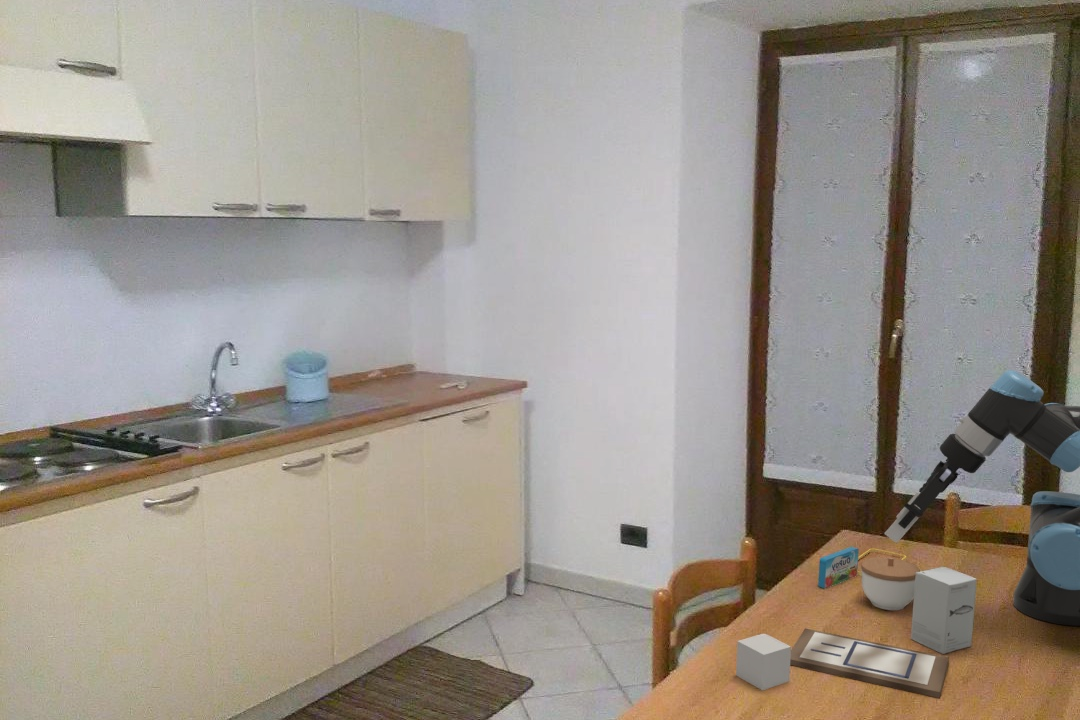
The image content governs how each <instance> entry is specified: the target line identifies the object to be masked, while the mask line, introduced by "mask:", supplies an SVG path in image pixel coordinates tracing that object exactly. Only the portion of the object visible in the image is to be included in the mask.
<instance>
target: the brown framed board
mask: <svg viewBox="0 0 1080 720" xmlns="http://www.w3.org/2000/svg"><path fill="white" fill-rule="evenodd" d="M949 661H950V657H947V656H944V655H938V654H933V653H929V652H923V651H919V650H915V649H914V650H913V649H908V648H904V647H900V646H899V647H898V646H895V645H888V644H884V643H878V642H874V641H868V640H864V639H859V638H854V637H849V636H845V635H840V634H837V633H831V632H830V633H829V632H824V631H821V630H815V629H811V628H807V627H805V628H804V629H803V631H802V632H801V634H800V636H799V637H798V639H797V640H796V642H795V643H794V645H793V647H791V658H790V666H793V667H798V668H801V669H802V668H803V669H807V670H811V671H816V672H821V673H825V674H829V675H834V676H839V677H842V678H848V679H852V680H855V681H860V682H865V683H869V684H874V685H879V686H884V687H888V688H893V689H897V690H902V691H904V692H905V691H906V692H910V693H914V694H919V695H923V696H928V697H932V698H937V699H940V697H941V693H942V690H943V686H944V682H945V678H946V675H947V671H948V666H949Z"/></svg>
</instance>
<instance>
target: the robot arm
mask: <svg viewBox="0 0 1080 720" xmlns="http://www.w3.org/2000/svg"><path fill="white" fill-rule="evenodd" d="M1043 396H1044V390H1043V389H1042V388H1041V387H1040V386H1039V385H1037V384H1036V383H1035V382H1033V381H1032V380H1031V379H1030V378H1028V377H1027V376H1025V375H1023V374H1022V373H1020V372H1018V371H1016V370H1014V369H1013V370H1012V369H1009V370H1006V371H1004V372H1003V373H1002V374H1001V376H999V377H998V378H997V380H996V381H995V382H993V383H992V384H991V385H990V387H989V388H988V389H987V391H986V392H985V393H984V394H983V395H982V396H981V398H980V399H979V400H978V401H977V402H976V403H975V405H974V406H973V407H972V408H971V410H970V411H969V412H968V414H967V415H966V416H965V417H963V416H961V417H959V418H958V422H960V423H958V425H957V426H956V427H955V429H954V433H950V434H949V435H948V436H947V437H946V438H945V439H944V441H943V442H942V444H940V446H939V450H940V452H941V454H943V455H942V456H943V457H945V458H946V460H944V461H942V460H940V461H939V462H938V463H937V464H936V466H935V468H934V469H933V471H932V472H931V473H930V476H929V477H928V478H927V479H926V482H925V483H923V484H922V486H921V487H920V488H919V491H917V492H916V493H915V494H914V495H913V496H912V497H911V498H910V500H909V501H908V502H906V503H905V504H904V505H903V508H902V509H901V510H900V512H898V514H897V515H896V516H895V518H896V519H895V521H893V523H891V525H890V526H889V527H888V529H887V530H886V531H885V532H884V535H885V536H887V538H888V539H890V540H891V541H892V542H894V543H896V544H897V543H899V541H900V540H901V539H902V538H903V537H904V535H905V534H906V533H908V531H909V530H910V528H911V527H912V526H913V525H915V523H916V522H917V521H918V520H919V518H921V517H922V516H923V515H924V513H925V512H926V510H927V509H928V508H929V507H930V505H931V504H932V503H933V502H934V501H935V500H936V499H937V497H938V496H939V495H940V494H941V493H943V492H945V491H946V490H947V488H948V487H949V486H950V485H952V484H953V483H954V482H955V481H956V480H957V479H958V477H959V475H960V474H959V472H957V471H958V470H959V469H961V470H963V471H964V472H966V473H969V474H975V473H976V472H977V471H978V470H979V469H980V468H981V466H983V464H984V463H985V462H986V461H987V459H986V457H991V456H992V454H994V452H995V451H996V450H997V449H998V448H999V447H1000V446H1001V444H1003V442H1004V441H1005V439H1006V438H1007V437H1008V436H1009V435H1012V436H1014V438H1016V439H1018V440H1019V441H1021V442H1023V444H1025V445H1026V446H1028V447H1030V448H1031V449H1032V450H1033V451H1035V452H1036V453H1037V454H1039V455H1040V456H1041V457H1043V458H1044V459H1045V460H1047V461H1048V462H1049V463H1050V464H1051V465H1053V466H1056V467H1057V468H1058V469H1061V470H1062V471H1064V472H1065V473H1072V472H1074V471H1076V470H1078V469H1079V468H1080V405H1077V406H1076V405H1064V404H1061V403H1058V402H1050V403H1045V404H1044V403H1043V402H1042V401H1041V400H1042V398H1043ZM1027 542H1028V543H1027V554H1026V564H1025V568H1024V570H1023V572H1022V574H1021V577H1020V579H1019V581H1018V583H1017V585H1016V587H1015V588H1014V592H1013V600H1012V604H1013V606H1014V607H1015V609H1017V610H1018V611H1019V612H1021V613H1023V614H1024V615H1026V616H1029V617H1030V618H1034V619H1037V620H1040V621H1043V622H1048V623H1050V624H1051V623H1052V624H1056V625H1063V626H1064V625H1065V626H1073V627H1076V626H1077V627H1080V494H1078V493H1071V492H1063V491H1061V492H1060V491H1048V490H1047V491H1046V490H1045V491H1037V492H1035V493H1034V494H1033V495H1032V498H1031V503H1030V520H1029V530H1028V541H1027Z"/></svg>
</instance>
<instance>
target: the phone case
mask: <svg viewBox="0 0 1080 720" xmlns="http://www.w3.org/2000/svg"><path fill="white" fill-rule="evenodd" d="M869 552H870V553H875V552H877V553H878V552H880V553H884V555H885V556H887V554H889V555H892V557H894V555H895V556H898V557H899V556H900V557H901V559H900V560H904V561H907V555H905V554H901V553H897V552H894V551H893V552H892V551H888V550H883V549H879V548H878V549H877V548H869V549H868V550H867V549H866V551H864V552H863V553H862V554H860V555H858V560H859V559H860V558H862V557H863V556H864V557H866V556H867V555H869V554H870V553H869ZM868 553H869V554H868ZM866 554H867V555H866ZM865 555H866V556H865ZM864 557H863V558H864ZM863 558H862V559H863ZM860 560H861V559H860ZM860 560H859V561H860ZM861 572H862V570H861V571H859V570H857V576H859V575H860V577H861Z"/></svg>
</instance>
